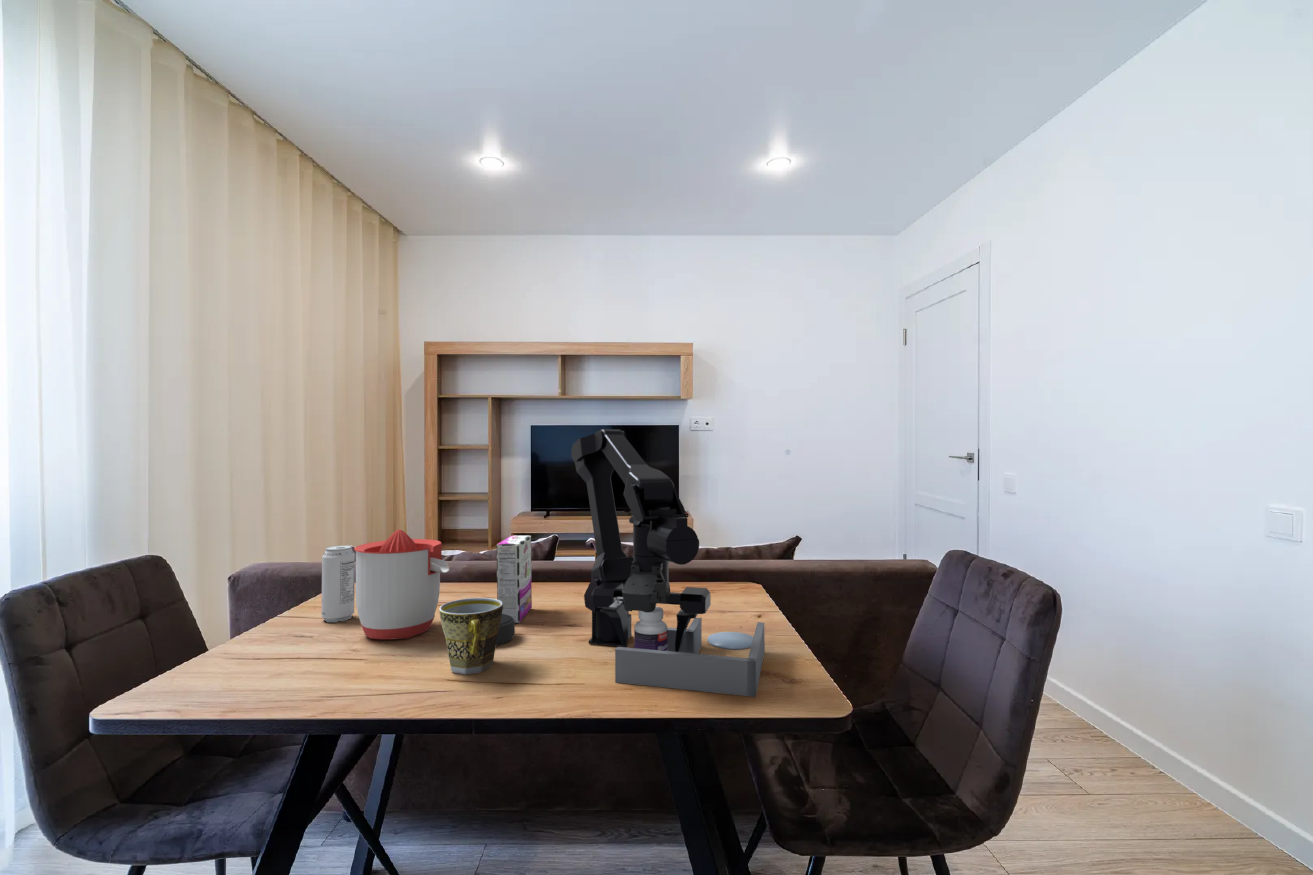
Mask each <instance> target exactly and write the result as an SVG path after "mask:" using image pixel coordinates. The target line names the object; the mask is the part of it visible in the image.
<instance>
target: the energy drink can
mask: <svg viewBox="0 0 1313 875" xmlns="http://www.w3.org/2000/svg"><path fill="white" fill-rule="evenodd" d="M352 548H353V547H352V546H351V545H334V546H333V545H332V546H328V547H325V551H324V553H323V555H322V556H321V618H322V619H324V622H325V621H326V623H339V622H338V621H341V622H345V621H348V619H349V620H350V619H352V617H353V615H354V613H355V584H356V553H355V552H354V551H353V549H352Z"/></svg>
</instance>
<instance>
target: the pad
mask: <svg viewBox="0 0 1313 875" xmlns="http://www.w3.org/2000/svg"><path fill="white" fill-rule="evenodd" d="M753 637H754V635H750V634H748V633H744V632H737V631H721V632H715V633H712V634H710V635H709V636H707V643H708V644H709V645H711V646H713V647H715V648H719V649H724V650H733V651H734V650H746V649H750V648H751V645H752V641H753Z"/></svg>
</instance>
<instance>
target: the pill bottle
mask: <svg viewBox="0 0 1313 875" xmlns="http://www.w3.org/2000/svg"><path fill="white" fill-rule="evenodd" d="M638 619H639V620H638V621H637V622H635V624H634V630H633V631H634V632H633V634H634V636H633V638H634V641H633V643H634V647H633V648H638V649H649V650H661V651H668V630H667V628H668V625H667V623H666V622H665V621H664V609H663V608H662V607H659V606H656V608H655V610H654V611H652V612H649V613H647V612H644V611H638Z"/></svg>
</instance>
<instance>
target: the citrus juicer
mask: <svg viewBox="0 0 1313 875" xmlns="http://www.w3.org/2000/svg"><path fill="white" fill-rule="evenodd" d="M442 546H443V544H442V542H441V541H439V540H436V539H430V538H429V539H428V538H427V539H426V538H411V536H410V535H409V534H407V533H406V532H405V531H404V530H402V529H401V528H399V529H397V530H395V531H394V532H393V533H392V534H390V536H388V538H387V539H386V540H380V541H379V540H378V541H372V542H368V543H363V544H359V545H357V546H355V547H354V548H353V549H354V551H355V604H356V611H357V614H358V619H359V622H360V626H361V628H362V630H363V633H364V635H365V636H366V637H367V638H368V639H371V638H373V639H372V640H374V639H375V640H396V639H397V640H398V639H404V640H406V639H407V640H409V639H411V638H413V637H414V636H417V635H420V634H423V633H425V632H427V631H428V630H429V629H430V628H431V626H432V624H433V622H434V619H435V617H436V616H435V614H436V610H437V607H438V605H439V604H438V603H439V598H440V591H441V590H440V588H441V574H446V573H448V572H449V571H450V566H449V563H448V562H447V561H445V560H443V558H442V555H443V554H442V552H443V550H442V549H443V548H442Z"/></svg>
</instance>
